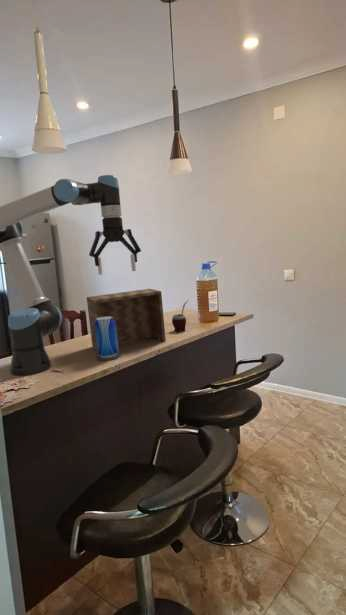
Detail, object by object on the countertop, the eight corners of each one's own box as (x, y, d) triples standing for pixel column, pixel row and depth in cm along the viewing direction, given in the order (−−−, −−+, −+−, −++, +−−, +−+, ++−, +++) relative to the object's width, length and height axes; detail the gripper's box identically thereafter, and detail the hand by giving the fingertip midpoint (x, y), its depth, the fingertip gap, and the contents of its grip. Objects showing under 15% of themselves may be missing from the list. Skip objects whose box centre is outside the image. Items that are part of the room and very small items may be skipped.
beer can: (99, 354, 173) (94, 317, 171) (119, 352, 174) (115, 315, 171) (97, 360, 165) (92, 320, 162) (118, 357, 166) (114, 318, 163)
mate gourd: (170, 332, 206) (167, 302, 204) (178, 328, 213) (175, 300, 211) (183, 332, 203) (180, 302, 200) (190, 329, 209) (188, 300, 207)
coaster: (99, 362, 163) (99, 361, 163) (93, 357, 172) (93, 355, 172) (123, 357, 167) (123, 356, 167) (116, 352, 176) (116, 351, 176)
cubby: (100, 353, 176) (94, 300, 173) (92, 346, 190) (86, 297, 186) (165, 341, 188) (161, 291, 185) (153, 335, 202) (148, 288, 198)
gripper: (81, 218, 150) (88, 276, 153) (145, 215, 160) (150, 269, 163) (77, 220, 157) (83, 275, 160) (139, 216, 166) (144, 269, 170)
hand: (117, 272), depth 162 cm, fingers open, 13 cm apart
